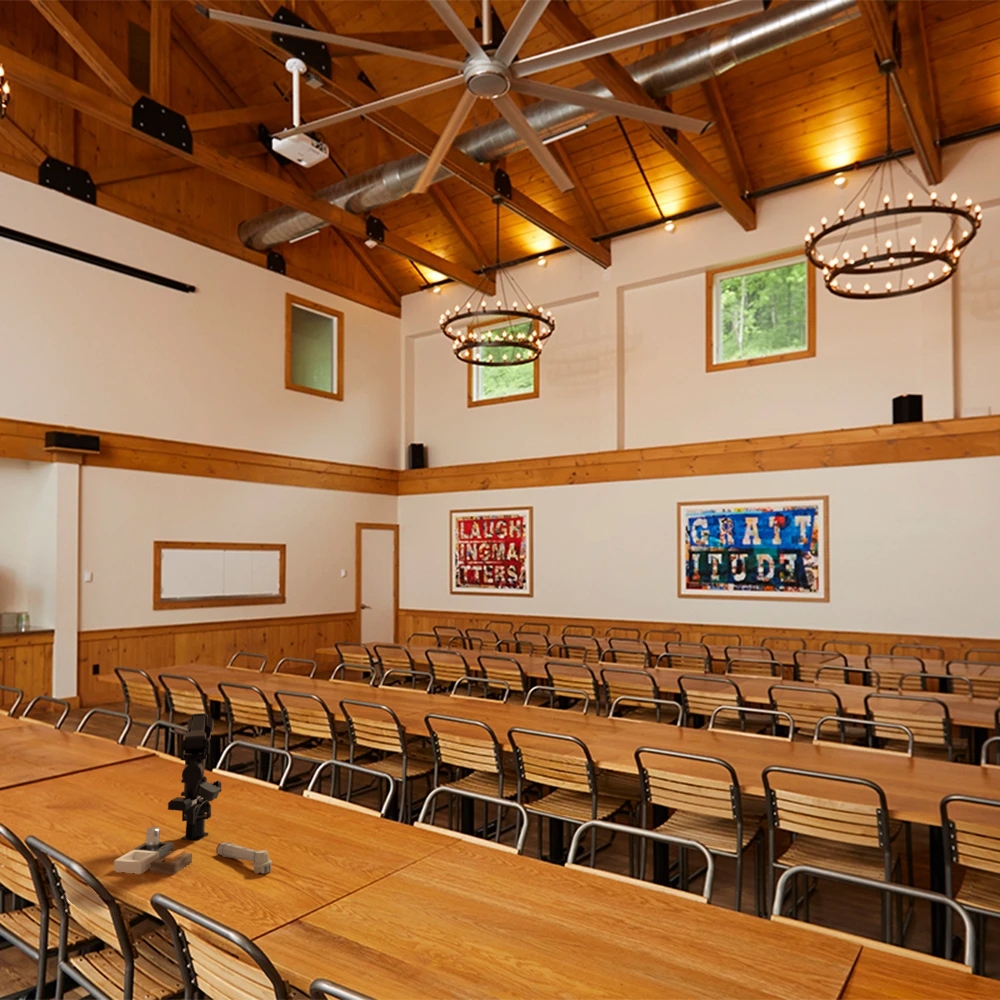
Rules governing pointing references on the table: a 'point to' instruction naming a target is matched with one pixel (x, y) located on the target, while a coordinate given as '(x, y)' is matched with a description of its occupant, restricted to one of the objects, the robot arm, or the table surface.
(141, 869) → the frame
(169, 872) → the key guide
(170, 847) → the socket block
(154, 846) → the peg
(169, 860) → the block
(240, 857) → the grey handle with block
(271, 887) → the table surface
